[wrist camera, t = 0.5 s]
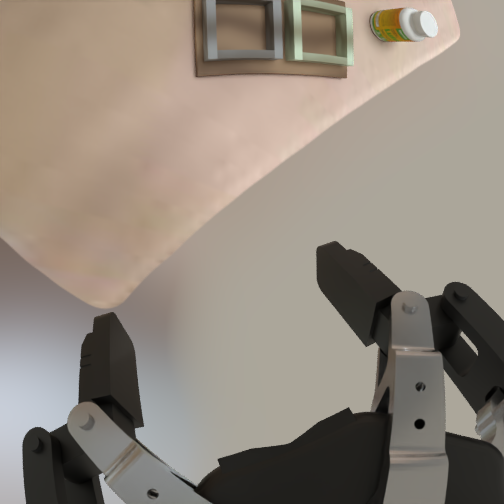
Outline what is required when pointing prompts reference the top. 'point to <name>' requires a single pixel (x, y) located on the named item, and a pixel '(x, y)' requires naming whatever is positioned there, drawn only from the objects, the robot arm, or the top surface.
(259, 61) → the socket board
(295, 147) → the top surface
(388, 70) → the top surface
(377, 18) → the supplement bottle
